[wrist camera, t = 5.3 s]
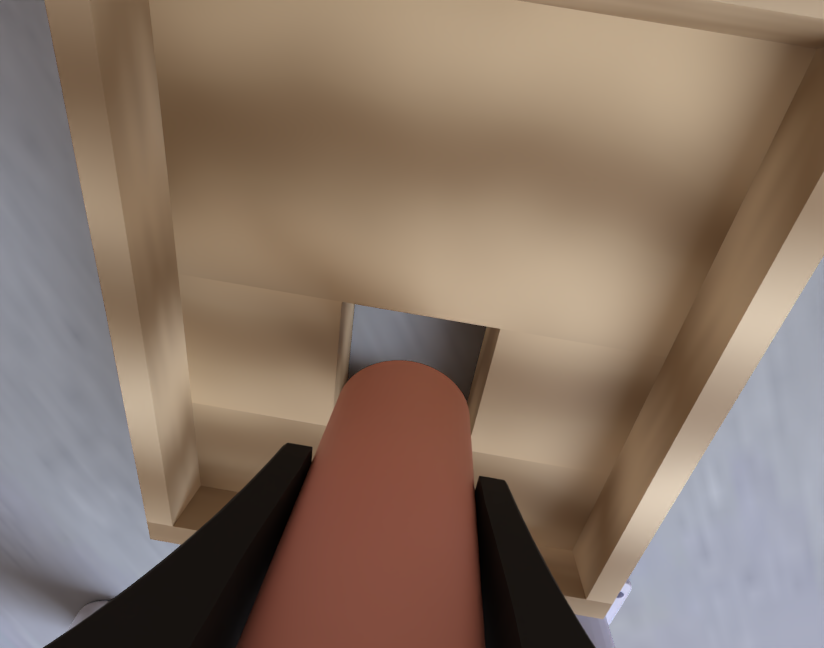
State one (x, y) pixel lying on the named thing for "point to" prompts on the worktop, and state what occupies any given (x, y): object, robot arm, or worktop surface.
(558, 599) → the robot arm
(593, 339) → the box
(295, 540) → the peg
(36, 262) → the worktop surface
